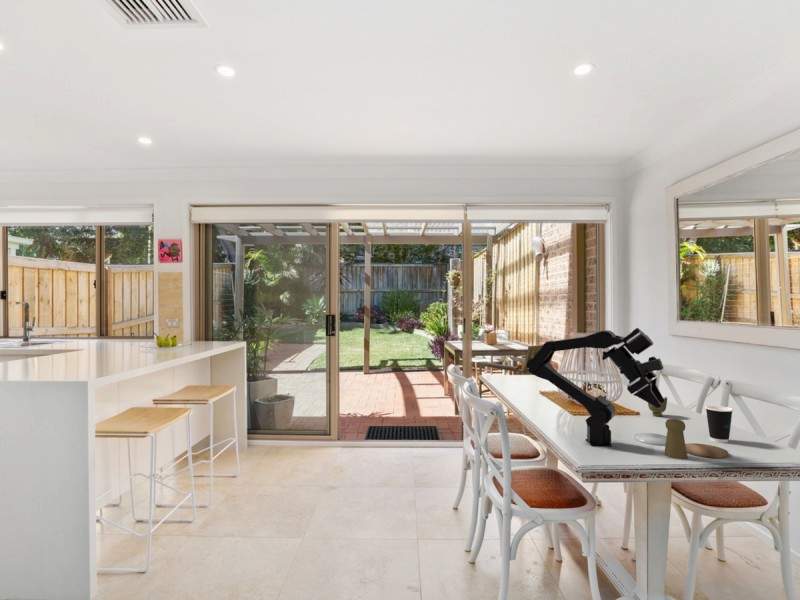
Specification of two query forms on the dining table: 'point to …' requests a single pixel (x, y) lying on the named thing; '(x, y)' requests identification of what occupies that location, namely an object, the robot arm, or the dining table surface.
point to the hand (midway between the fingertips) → (661, 404)
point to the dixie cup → (719, 422)
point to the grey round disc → (651, 438)
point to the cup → (656, 410)
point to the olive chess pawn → (675, 439)
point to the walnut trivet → (706, 451)
